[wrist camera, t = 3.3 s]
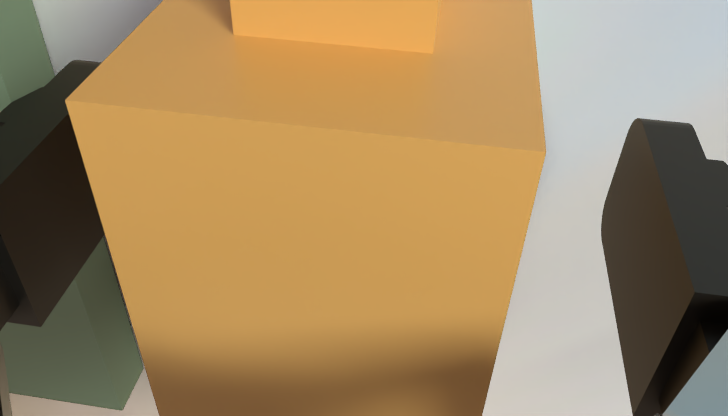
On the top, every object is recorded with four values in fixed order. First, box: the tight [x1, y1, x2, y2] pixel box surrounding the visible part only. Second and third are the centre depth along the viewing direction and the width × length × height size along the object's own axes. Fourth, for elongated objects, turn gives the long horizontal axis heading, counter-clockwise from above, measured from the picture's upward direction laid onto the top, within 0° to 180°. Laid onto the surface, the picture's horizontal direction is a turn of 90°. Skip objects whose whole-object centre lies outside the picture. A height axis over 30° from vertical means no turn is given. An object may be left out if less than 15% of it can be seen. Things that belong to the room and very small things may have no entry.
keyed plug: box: [65, 0, 546, 416], centre depth 10 cm, size 4×9×7 cm, turn 178°
